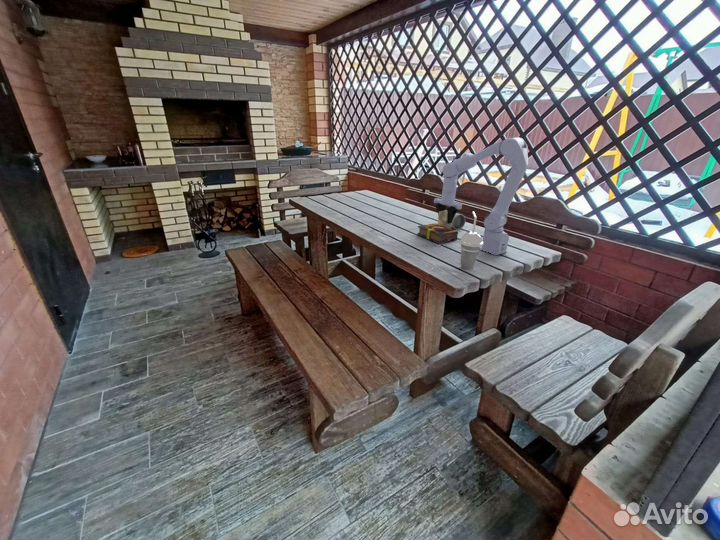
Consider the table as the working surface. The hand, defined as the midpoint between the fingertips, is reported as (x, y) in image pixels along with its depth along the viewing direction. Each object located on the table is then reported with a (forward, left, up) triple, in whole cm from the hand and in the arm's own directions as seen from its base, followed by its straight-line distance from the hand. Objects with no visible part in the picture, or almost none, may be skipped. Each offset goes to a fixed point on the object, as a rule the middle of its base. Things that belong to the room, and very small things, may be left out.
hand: (445, 221), depth 148 cm
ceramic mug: (+9, -16, -8) cm, 21 cm away
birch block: (0, 0, -2) cm, 2 cm away
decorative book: (+2, +1, -8) cm, 9 cm away
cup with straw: (-28, +17, -8) cm, 34 cm away
